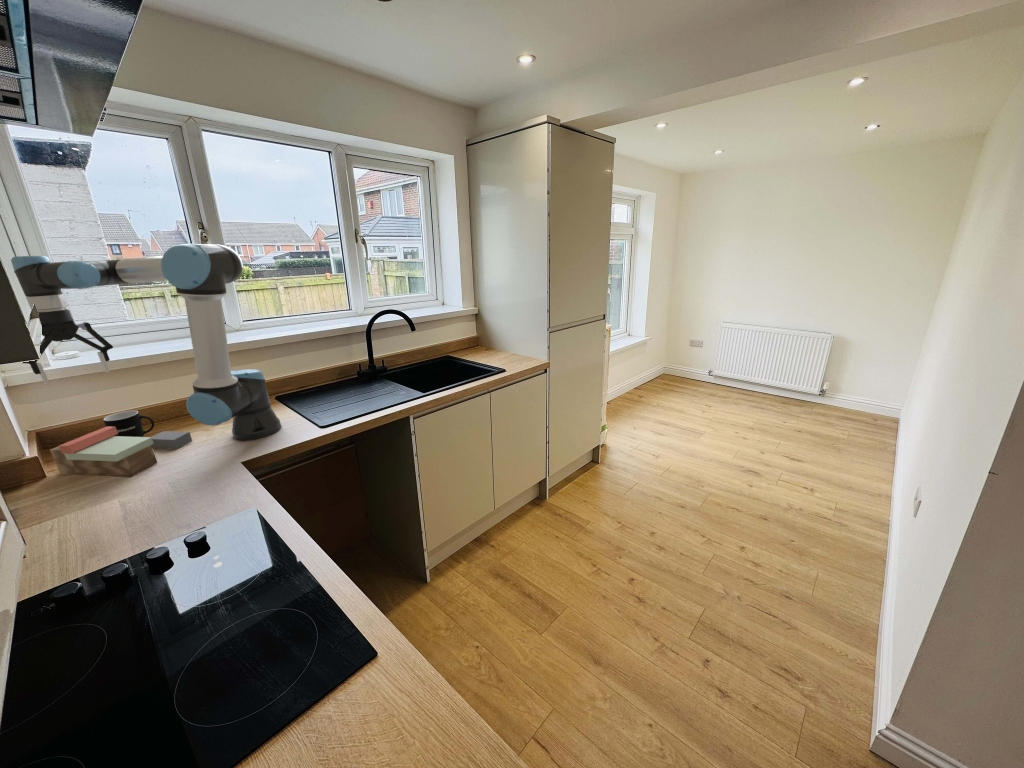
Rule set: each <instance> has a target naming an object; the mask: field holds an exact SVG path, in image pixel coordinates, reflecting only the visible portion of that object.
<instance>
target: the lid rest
mask: <svg viewBox="0 0 1024 768" xmlns="http://www.w3.org/2000/svg"><path fill="white" fill-rule="evenodd" d="M151 437H152V440H153V443H154V444H152V445H150V446H152V449H158V450H159V449H161V450H178V449H180V448H182V447H184V446H185V445H188V444H189V443H191V442H193V438H192V435H191V432H190V431H172V430H171V431H170V430H169V431H168V430H163V431H162V432H159V433H156V434H155V435H152V436H151Z"/></svg>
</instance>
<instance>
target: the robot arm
mask: <svg viewBox="0 0 1024 768" xmlns="http://www.w3.org/2000/svg"><path fill="white" fill-rule="evenodd" d="M10 262H11V265H12V268H13V273H14V274H15V276H16V277H17V280H18V283H19V285H20V287H21V289H22V292H23V294H24V296H25V299H26V302H28V306H29V308H30V310H31V311H33V310H32V307H33V304H35V306H36V308H37V311H38V313H39V317H40V321H41V324H42V335H41V336H43V339H42V340H41V342H40V344H41V345H40V344H39V345H40V353H41V356H42V355H43V354H44V352H45V351H46V350H47V348H48V346H49V345H51V343H52V342H58V343H59V342H62V341H71V340H73V339H76V340H79V341H80V342H82V343H84V344H86V345H88V346H89V347H91V348H94V349H96V350H97V351H96V353H97V356H98V358H99V361H100V363H101V367H102V369H103V372H105V373H110V369H109V366H108V364H107V362H110V360H111V359H110V357H109V354H108V351H109V350H112V349H114V346H113V345H112V344H111V343H110V342H108V341H107V340H106V339H105V338H104V337H103V336H102V335H100V334H99V333H98V332H97V331H96V330H94V329H93V327H92V325H91V324H90V323H89V322H86V321H84V322H82V323H79V324H77V323H75V320H74V318H73V316H72V314H71V310H70V309H67V308H68V303H67V301H66V298H65V296H64V293H63V291H62V290H63V289H64V290H65V289H66V290H67V289H69V290H71V289H79V290H82V289H90V288H95V287H103V286H114V285H115V286H116V285H117V286H118V285H128V284H129V285H130V284H140V283H142V284H143V283H153V282H156V283H157V282H168V283H169V284H171V286H173V287H175V290H176V293H177V295H178V296H180V297H182V298H183V300H184V303H185V304H184V305H185V309H186V316H187V321H188V327H189V334H190V339H191V345H192V353H193V357H194V358H193V359H194V363H195V369H196V375H197V377H196V378H195V379H194V380H193V381H192V389H193V393H192V394H190V395H189V397H188V398H187V399H186V404H185V406H186V409H187V411H188V414H189V415H190V416H191V418H193V419H195V420H196V421H197V422H199V423H201V424H203V425H206V426H219V425H222V424H223V423H226V422H229V421H230V420H231V419H232V418H233V419H232V428H231V433H232V437H233V439H235V440H238V441H249V440H250V441H251V440H257V439H261V438H264V437H267V436H270V435H272V434H274V433H277V432H278V431H279V430H281V427H282V423H281V420H280V418H279V417H278V416H277V415H276V414H277V413H275V411H274V409H273V408H272V405H271V400H270V396H269V393H268V388H267V383H266V378H265V376H264V373H263V371H262V370H260V369H255V368H254V369H252V368H250V369H238V370H232V369H231V367H232V366H231V362H230V354H229V346H228V339H227V332H226V331H227V330H226V324H225V317H224V310H223V302H222V301H223V298H224V297H225V296H226V295H227V287H226V285H227V284H230V283H233V282H236V281H237V280H239V278H240V277H241V275H242V274H243V270H244V265H243V261H242V258H241V256H239V254H238V253H237V252H236V251H235V250H234V249H232V248H231V247H229V246H226V245H222V244H218V243H216V244H215V243H212V244H209V243H207V244H206V243H205V244H204V243H203V244H202V243H183V244H177V245H173V246H170V247H169V248H168V249H167V250H166V251H165V252H164V253H163V255H162V256H158V255H157V256H149V257H148V256H147V257H146V256H145V257H136V258H135V257H134V258H124V259H122V258H121V259H110V260H109V259H108V260H70V261H69V260H68V261H57V262H56V261H55V262H54V261H53V262H52V261H50V257H48V256H46V255H26V256H25V255H24V256H21V255H18V256H17V255H16V256H13V257H11V259H10ZM79 329H81V330H84V331H86V332H88V334H89V335H91V336H92V337H93V338H94V339H96V340H97V341H98V342H100V343H101V344H102V346H101V345H99V344H97V343H96V342H93V341H91V340H90V339H88V338H86V337H84V336H82V335H80V334H78V333H77V332H78V330H79ZM22 364H29V366H30V368H31V370H32V372H33V373H34V374H35V375H40V377H41V379H42V381H43V384H45V385H50V381H49V379H48V377H47V374H46V372H45V370H44V368H43V366H42V365H43V364H42V362H39V359H38V360H35V361H29V362H23V363H22Z"/></svg>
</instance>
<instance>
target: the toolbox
mask: <svg viewBox="0 0 1024 768" xmlns="http://www.w3.org/2000/svg"><path fill="white" fill-rule="evenodd" d="M49 452H50V453H51V456H52V458H53V461H54V463H55V465H56V466H57V467H56V468H57V469H58V471H59V474H60V475H70V476H71V475H74V476H94V477H115V478H118V477H119V478H132V477H135V476H136V475H137V474H140V473H141V472H143V471H145V470H147V469H149V468H150V467H152V466H154V465H156V464H158V460H157V458H156V454H155V452H154V448H152V446H148V447H146V448H144V449H142V450H140V451H138V452H136V453H134V454H132V455H130V456H127V457H125V458H123V459H121V460H119V461H92V460H67V459H66V457H65V454H62V452H61V450H60V448H59V445H58V446H56V447H54V448H51V449H49Z"/></svg>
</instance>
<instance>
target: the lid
mask: <svg viewBox="0 0 1024 768" xmlns="http://www.w3.org/2000/svg"><path fill="white" fill-rule="evenodd" d="M152 437H153V436H150V437H148V436H143V437H124V436H112V437H109V438H107V439H105V440H102V441H100V442H98V443H95V444H93V445H91V446H88V447H86V448H84V449H81V450H79V451H77V452H74V453H72V454H65V457H66V459H67V460H92V461H119V460H121V459H123V458H125V457H127V456H130V455H132V454H134V453H136V452H138V451H140V450H142V449H144V448H146V447H148V446H150V445H152V444H154V443H153V440H152Z"/></svg>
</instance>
